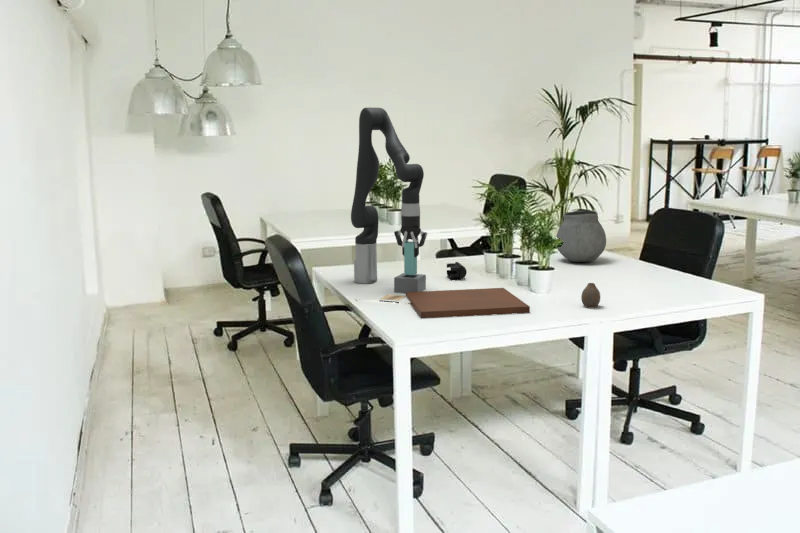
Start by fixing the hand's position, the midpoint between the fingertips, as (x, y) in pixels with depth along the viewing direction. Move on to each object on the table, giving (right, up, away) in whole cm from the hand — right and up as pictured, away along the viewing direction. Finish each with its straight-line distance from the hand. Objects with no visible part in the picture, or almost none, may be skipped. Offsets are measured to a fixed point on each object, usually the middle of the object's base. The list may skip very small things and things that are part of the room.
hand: (410, 256), depth 304 cm
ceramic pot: (+85, -2, +69) cm, 110 cm away
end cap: (+21, -10, +32) cm, 39 cm away
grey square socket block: (0, -15, +3) cm, 15 cm away
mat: (-7, -17, -9) cm, 21 cm away
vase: (+67, -19, -23) cm, 73 cm away
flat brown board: (+20, -20, -19) cm, 34 cm away
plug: (0, -7, +1) cm, 7 cm away
